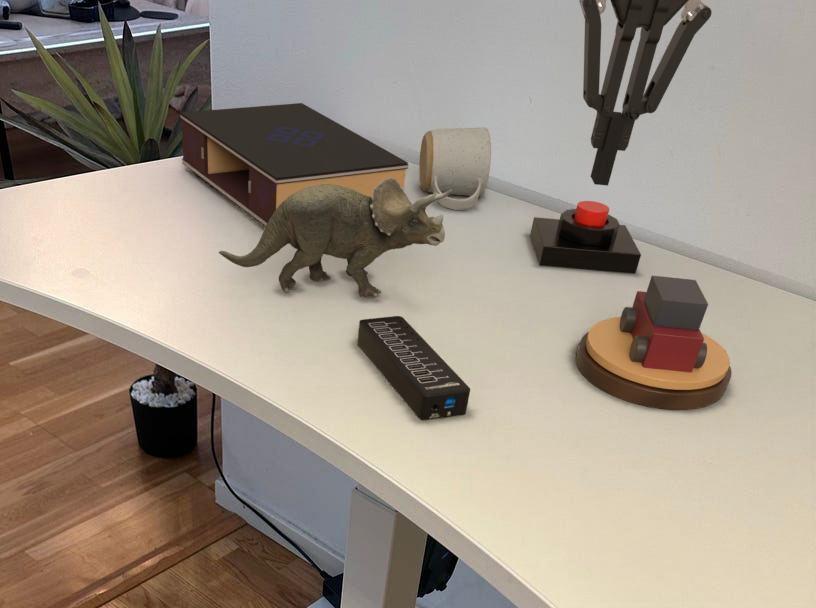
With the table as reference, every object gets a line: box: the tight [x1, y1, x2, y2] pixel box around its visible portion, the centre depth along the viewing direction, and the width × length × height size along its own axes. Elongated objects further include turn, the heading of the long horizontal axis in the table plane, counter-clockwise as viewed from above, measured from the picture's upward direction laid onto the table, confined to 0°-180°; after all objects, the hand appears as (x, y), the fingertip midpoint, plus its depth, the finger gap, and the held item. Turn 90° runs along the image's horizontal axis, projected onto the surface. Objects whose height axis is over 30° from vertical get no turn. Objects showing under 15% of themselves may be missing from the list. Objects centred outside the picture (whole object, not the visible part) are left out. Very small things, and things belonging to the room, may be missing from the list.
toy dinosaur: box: [218, 177, 452, 299], centre depth 90 cm, size 22×8×11 cm, turn 90°
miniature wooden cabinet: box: [179, 102, 409, 228], centre depth 110 cm, size 17×25×7 cm
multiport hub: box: [357, 315, 471, 421], centre depth 81 cm, size 4×14×2 cm, turn 22°
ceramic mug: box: [418, 126, 492, 211], centre depth 114 cm, size 11×8×8 cm
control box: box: [529, 208, 642, 275], centre depth 104 cm, size 11×9×4 cm
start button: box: [574, 200, 610, 226], centre depth 103 cm, size 4×4×2 cm
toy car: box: [586, 275, 731, 390], centre depth 82 cm, size 13×13×6 cm
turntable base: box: [575, 330, 733, 411], centre depth 85 cm, size 14×14×2 cm
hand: (599, 180), depth 100 cm, fingers closed
